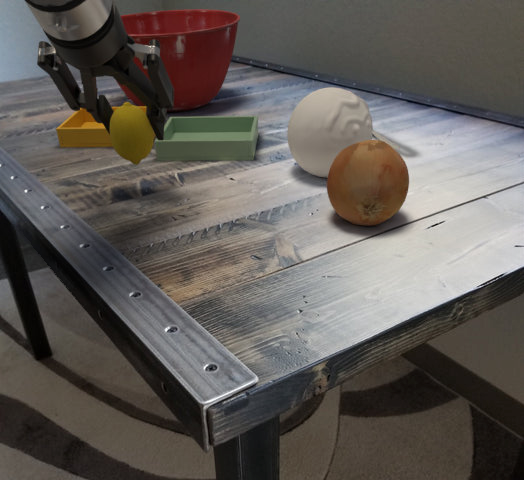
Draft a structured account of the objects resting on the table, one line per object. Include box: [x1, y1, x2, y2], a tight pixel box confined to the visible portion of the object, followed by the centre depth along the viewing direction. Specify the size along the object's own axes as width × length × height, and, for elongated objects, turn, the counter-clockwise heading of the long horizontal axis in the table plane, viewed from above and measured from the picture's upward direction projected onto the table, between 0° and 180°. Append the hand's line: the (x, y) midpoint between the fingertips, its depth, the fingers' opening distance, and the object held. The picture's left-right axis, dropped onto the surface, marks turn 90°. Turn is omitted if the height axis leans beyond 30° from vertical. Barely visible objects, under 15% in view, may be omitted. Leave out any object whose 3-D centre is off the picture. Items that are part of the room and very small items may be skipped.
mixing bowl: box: [116, 8, 241, 113], centre depth 115 cm, size 28×28×15 cm
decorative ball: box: [286, 86, 374, 179], centre depth 82 cm, size 12×12×12 cm
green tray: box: [154, 115, 259, 162], centre depth 95 cm, size 15×13×4 cm
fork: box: [372, 129, 400, 150], centre depth 99 cm, size 3×24×2 cm, turn 21°
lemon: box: [110, 101, 154, 166], centre depth 76 cm, size 6×6×8 cm
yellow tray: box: [55, 105, 156, 148], centre depth 102 cm, size 15×13×4 cm
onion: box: [326, 139, 410, 227], centre depth 70 cm, size 10×10×10 cm
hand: (138, 130), depth 79 cm, fingers closed on lemon, 5 cm apart
